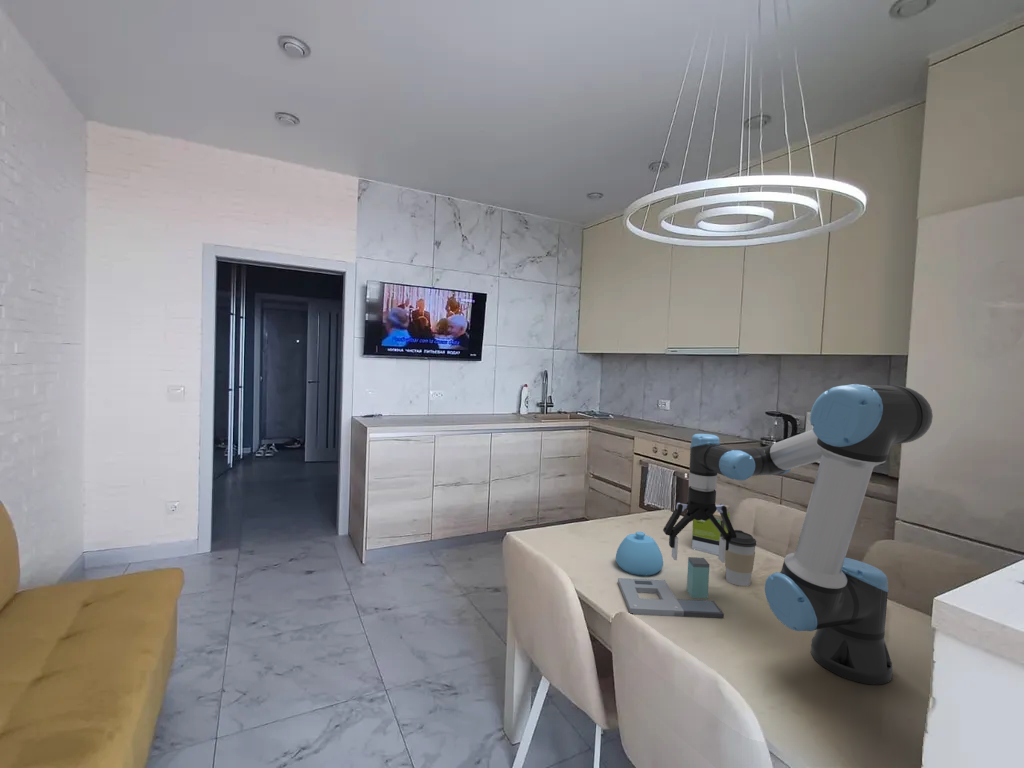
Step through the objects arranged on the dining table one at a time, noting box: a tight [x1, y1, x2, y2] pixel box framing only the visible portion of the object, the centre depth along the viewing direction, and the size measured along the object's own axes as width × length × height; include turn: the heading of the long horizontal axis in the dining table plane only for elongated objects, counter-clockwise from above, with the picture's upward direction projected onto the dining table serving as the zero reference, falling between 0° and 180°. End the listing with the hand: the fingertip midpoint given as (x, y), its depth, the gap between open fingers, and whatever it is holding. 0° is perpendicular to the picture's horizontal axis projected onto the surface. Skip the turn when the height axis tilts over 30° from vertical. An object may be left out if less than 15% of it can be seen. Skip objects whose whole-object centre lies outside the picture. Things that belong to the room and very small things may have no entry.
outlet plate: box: [617, 577, 684, 617], centre depth 136 cm, size 18×14×2 cm
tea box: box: [691, 502, 731, 556], centre depth 177 cm, size 15×10×15 cm, turn 144°
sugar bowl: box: [615, 531, 664, 577], centre depth 157 cm, size 15×15×12 cm
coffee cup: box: [724, 529, 757, 587], centre depth 149 cm, size 9×9×15 cm
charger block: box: [686, 556, 710, 599], centre depth 140 cm, size 4×4×10 cm
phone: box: [674, 598, 725, 619], centre depth 131 cm, size 7×13×1 cm, turn 88°
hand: (697, 559), depth 140 cm, fingers open, 13 cm apart
